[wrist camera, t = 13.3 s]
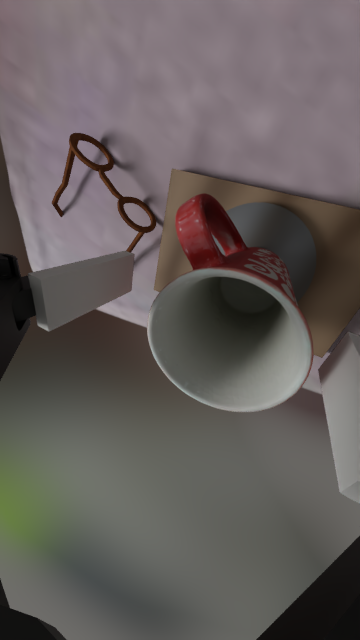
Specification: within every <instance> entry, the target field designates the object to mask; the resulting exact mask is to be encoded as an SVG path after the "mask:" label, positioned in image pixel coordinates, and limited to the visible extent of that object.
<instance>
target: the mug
mask: <svg viewBox="0 0 360 640" xmlns="http://www.w3.org/2000/svg"><path fill="white" fill-rule="evenodd" d="M175 226H176V232H177V236H178V239H179V242H180V244H181V246H182V249H183V251H184V253H185V255H186V257H187V258H188V260H189V262H190V264H191V266H192V268H193V271H191V272H187V273H185V274H183V275H181V276H179V277H177V278H176V279H174V280H173V281H171V282H170V283H169V284H167V285H166V286H165V287H164V288H163V289H162V290H161V292H160V293H159V294H158V295H157V297H156V299H155V300H154V302H153V304H152V306H151V309H150V312H149V316H148V323H147V333H148V340H149V344H150V348H151V351H152V353H153V355H154V358H155V360H156V362H157V363H158V365H159V367H160V368H161V370H162V371H163V372H164V373H165V375H166V376H167V377H168V378H169V380H170V381H171V382H173V383H174V384H175V385H176V386H177V387H178V388H179V389H180V390H182V391H183V392H184V393H186V394H187V395H189V396H191V397H193V398H194V399H196V400H198V401H200V402H202V403H205V404H206V405H209V406H212V407H215V408H218V409H222V410H226V411H233V412H255V411H260V410H266V409H269V408H272V407H275V406H277V405H279V404H281V403H283V402H285V401H287V400H288V399H289V398H291V397H292V396H293V395H294V394H295V393H296V392H297V391H298V390H299V389H300V388H301V387H302V385H303V384H304V382H305V381H306V379H307V377H308V375H309V372H310V370H311V366H312V362H313V350H314V348H313V340H312V335H311V331H310V328H309V326H308V323H307V321H306V318H305V317H304V315H303V313H302V312H301V310H300V309H299V307H298V304H297V301H296V298H295V295H294V291H293V287H292V284H291V280H290V276H289V272H288V269H287V267H286V265H285V263H284V262H283V261H282V260H281V259H280V257H279V256H277V255H276V254H275V253H273V252H272V251H270V250H267V249H264V248H259V247H247V246H246V244H245V243H244V241H243V239H242V237H241V235H240V233H239V232H238V230H237V228H236V227H235V225H234V223H233V222H232V220H231V218H230V217H229V215H228V214H227V212H226V211H225V209H224V208H223V207H222V205H221V204H220V203H219V202H218V201H217V200H216V199H215V198H214V197H213V196H211V195H209V194H206V193H204V194H199V195H196V196H194V197H192V198H191V199H189V200H188V201H186V202H185V203H183V204H182V205H181V206H180V207H179V209H178V210H177V213H176V216H175ZM211 233H212V234H211ZM212 235H213V236H214V237H215V238H216V239H217V241H218V242H219V243H220V245H221V246H222V248H223V250H224V252H225V255H223V254H222V253H221V251H220V249H219V248H218V246H217V244H216V243H215V241H214V238H213V236H212Z"/></svg>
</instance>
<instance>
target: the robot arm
mask: <svg viewBox="0 0 360 640" xmlns="http://www.w3.org/2000/svg"><path fill="white" fill-rule="evenodd" d="M133 266H134V254H133V253H130V252H127V251H122V252H118V253H113V254H109V255H105V256H100V257H96V258H92V259H88V260H83V261H79V262H75V263H71V264H66V265H62V266H58V267H53V268H49V269H45V270H41V271H36V272H32V273H28V276H24V277H21V275H20V270H19V266H18V261H17V258H16V257H15V256H13V255H9V254H2V253H0V380H1V378H2V376H3V374H4V372H5V371H6V369H7V367H8V365H9V363H10V361H11V359H12V358H13V356H14V354H15V352H16V350H17V348H18V346H19V345H20V342H21V341H22V339H23V337H24V335H25V333H26V331H27V330H28V328H29V326H30V317H33V316H35V315H36V318H37V324H38V326H40V327H42V328H43V329H45V330H47V331H51V330H53V329H55V328H57V327H59V326H61V325H63V324H65V323H67V322H69V321H71V320H73V319H75V318H77V317H79V316H81V315H83V314H85V313H87V312H89V311H91V310H93V309H96V308H98V307H100V306H102V305H104V304H106V303H108V302H110V301H112V300H114V299H116V298H118V297H120V296H122V295H124V294H126V293H128V292H130V291H131V289H132V277H133ZM318 371H319V377H320V382H321V388H322V394H323V399H324V405H325V411H326V417H327V422H328V428H329V433H330V439H331V445H332V451H333V457H334V462H335V468H336V474H337V479H338V485H339V491H340V493H341V494H343V495H345V496H347V497H348V498H350V499H352V500H354V501H355V502H358V503H359V504H360V336H359V335H356V334H353V333H351V332H347V333H346V334H345V336H344V337H343V338H342V339H341V341H340V342H339V343H338V345H337V346H336V347H335V349H334V350H333V351H332V352H331V354H330V355H329V356H328V358H327V359H326V360H325V361H324V363H323V364H322V365H321V367H320V368H319V369H318ZM0 640H66V639H65V638H64V637H63V635H62V634H61V633H60V632H59V631H58V630H57V629H56V628H55V627H53V626H51V625H49V624H47V623H45V622H44V621H42V620H40V619H38V618H36V617H33V616H30V615H27V614H24V613H22V612H19V611H16V610H13V609H10V607H9V604H8V601H7V598H6V595H5V592H4V589H3V586H2V583H1V580H0ZM256 640H360V536H359V537H358V538H357V539H356V540H355V541H354V542H353V543H352V544H351V545H350V546H349V547H348V548H347V549H346V550H345V551H344V552H343V553H342V554H341V555H340V556H339V557H338V558H337V559H336V560H335V561H334V562H333V563H332V564H331V565H330V566H329V567H328V568H327V569H326V570H325V571H324V572H323V573H322V574H321V575H320V576H319V577H318V578H317V579H316V580H315V581H314V582H313V583H312V584H311V585H310V586H309V587H308V588H307V589H306V590H305V591H304V592H303V593H302V594H301V595H300V596H299V598H297V599H296V600H295V601H294V602H293V603H292V604H291V605H290V606H289V607H288V608H287V609H286V610H285V611H284V613H282V614H281V615H280V617H278V618H277V619H276V620H275V621H274V623H272V624H271V625H270V626H269V628H267V629H266V631H264V632H263V633H262V635H260V637H258V638H257V639H256Z"/></svg>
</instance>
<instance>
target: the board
mask: <svg viewBox="0 0 360 640" xmlns="http://www.w3.org/2000/svg"><path fill="white" fill-rule="evenodd" d="M204 193H206V194H209V195H211V196H213V197H214V198H215V199H216V200H217V201H218V202H219V203H220V204H221V205H222V207H223V208H224V209H225V211H226V212H227V214H228V215H229V217H230V218H231V220H232V222H233V223H234V225H235V227H236V228H237V230H238V232H239V233H240V235H241V237H242V239H243V241H244V243H245V244H246V246H247V247H259V248H264V249H267V250H270V251H272V252H273V253H275V254H276V255H277V256H279V257H280V259H281V260H282V261H283V262H284V263H285V265H286V267H287V269H288V272H289V276H290V280H291V284H292V287H293V291H294V295H295V298H296V301H297V304H298V307H299V309H300V310H301V312H302V313H303V315H304V317H305V318H306V321H307V323H308V326H309V328H310V331H311V335H312V340H313V348H314V350H313V354H314V355H316V356H319V357H321V358H322V357H323V356H324V355H325V353H326V352H327V351H328V349H329V348H330V347H331V345H332V344H333V343H334V341H335V340H336V339H337V337H338V336H339V335H340V333H341V332H342V331H343V329H344V328H345V327H346V326H347V324H348V323H349V322H350V320H351V319H352V318H353V316H354V315H355V314H356V312H357V311H358V310H359V308H360V210H358V209H354V208H349V207H345V206H340V205H336V204H331V203H327V202H322V201H317V200H313V199H308V198H304V197H299V196H295V195H290V194H286V193H281V192H276V191H272V190H267V189H263V188H258V187H254V186H249V185H245V184H240V183H235V182H231V181H226V180H222V179H217V178H213V177H208V176H204V175H199V174H195V173H190V172H185V171H181V170H176V169H172V171H171V178H170V185H169V191H168V198H167V205H166V212H165V218H164V225H163V232H162V238H161V245H160V252H159V259H158V265H157V272H156V279H155V285H154V290H156V291H158V292H161V290H162V289H163V288H164V287H165V286H166V285H167V284H169V283H170V282H171V281H173V280H174V279H176V278H177V277H179V276H181V275H183V274H185V273H187V272H191V271H193V268H192V266H191V264H190V262H189V260H188V258H187V257H186V255H185V253H184V251H183V249H182V246H181V244H180V242H179V239H178V236H177V232H176V226H175V216H176V213H177V210H178V209H179V207H180V206H181V205H182V204H183V203H185V202H186V201H188V200H189V199H191V198H192V197H194V196H196V195H199V194H204ZM211 234H212V233H211ZM212 236H213V235H212ZM213 238H214V241H215V243H216V244H217V246H218V248H219V249H220V251H221V253H222V254H223V255H225V252H224V250H223V248H222V246H221V245H220V243H219V242H218V241H217V239H216V238H215V237H214V236H213Z"/></svg>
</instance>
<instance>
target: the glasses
mask: <svg viewBox="0 0 360 640" xmlns="http://www.w3.org/2000/svg"><path fill="white" fill-rule="evenodd" d="M79 140H83V141H87V142H90V143H92V144H94V145H95V146H96V147H98V148H99V149H100V150H101V151H102V152H103V153H104V155H105V156H106V158H107V160H108V164H106V165H98V164H95V163H93V162H92V161H90V160H89V159H87V158H86V157H85V156H84V155H83V154H82V153H81V152H80V151H79V149H78V148H77V145H78V141H79ZM69 144H70V148H69V153H68V157H67V162H66V167H65V171H64V176H63V180H62V184H61V185H60V187H59V188H58V190H57V191H56V193H55V196H54V198H53V201H52V204H53V206H54V207H55V209H56V210H57V212H58V213H59V215H60V216H61V217H62V215H63V212H62V210H61V209H60V207H59V206H58V204H57V203H58V200H59V198H60V196H61V194H62V193H63V191H64V190H65V188H66V187H67V185H68V182H69V178H70V174H71V169H72V165H73V161H74V157H75V155H76V156H77V157H78V158H79V159H80V160H81V161H82V162H83V163H84V164H86V165H87V166H88V167H90V168H92V169H93V170H95V171H98V172H99V175H100V178H101V179H102V181H103V182H104V183H105V185H106V186H107V187H108V189H109V190H110V191H111V193H112V194H113V195H114V196H115V197H116V198H118V199H119V200H118V211H119V213H120V215H121V217H122V218H123V220H124V221H125V222H126V223H127V224H128V225H129V226H130V227H131V228H133V229H134V230H136V231H138V232H139V233H138V234H137V236H136V237H135V239H134V240H133V242H132V243H131V245H130V246H129V248H128V249H127V250H126V251H127V252H130V253H131V251H132V250H133V248H134V247H135V246H136V244H137V243H138V241H139V240H140V239H141V237H142V236H143V234H144V233H148V232H151V231H152V230H153V229H154V228H155V226H156V219H155V216H154V215H153V213H152V212H151V211H150V209H149V208H148V206H147V205H146V204H145V203H143V202H142V201H141V200H139V199H137V198H133V197H123V196H122V195H121V194H120V193H119V192H118V191H117V190H116V189H115V187H114V186H113V184H112V183H111V182H110V180H109V179H108V178H107V176H106V175H105V173H104V172H105V171H109V170H111V169H112V168H113V165H114V161H113V158H112V156H111V155H110V154H109V152H108V151H107V150H106V148H105V147H104V146H103V145H102V144H101V143H100V142H99V141H97V140H96V139H94V138H93V137H91V136H88V135H86V134H82V133H73V134H71V136H70V139H69ZM125 203H134V204H137V205H139V206H140V207H142V208H143V209H144V210H145V211H146V213H147V214H148V215H149V217H150V220H151V225H150V226H148V227H142V226H139V225H137V224H135V223H134V222H133V221H132V220H131V219H130V218H129V217H128V216H127V214H126V213H125V211H124V206H123V205H124V204H125Z"/></svg>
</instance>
